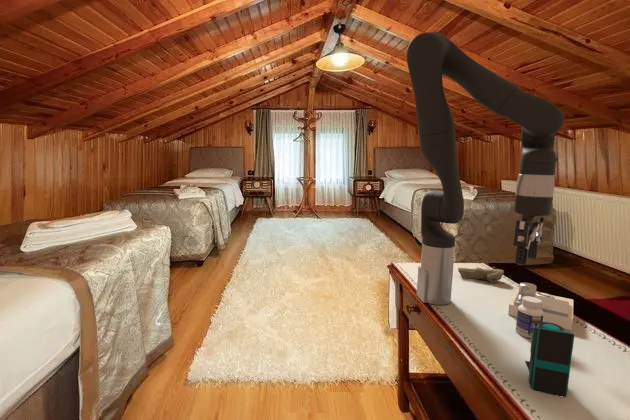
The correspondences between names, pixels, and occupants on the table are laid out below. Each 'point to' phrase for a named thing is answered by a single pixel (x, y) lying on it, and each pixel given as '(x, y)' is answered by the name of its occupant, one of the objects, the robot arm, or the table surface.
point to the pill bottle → (529, 316)
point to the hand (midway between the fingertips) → (526, 260)
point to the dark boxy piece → (550, 359)
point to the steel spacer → (527, 290)
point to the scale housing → (547, 317)
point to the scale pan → (549, 305)
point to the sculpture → (481, 274)
